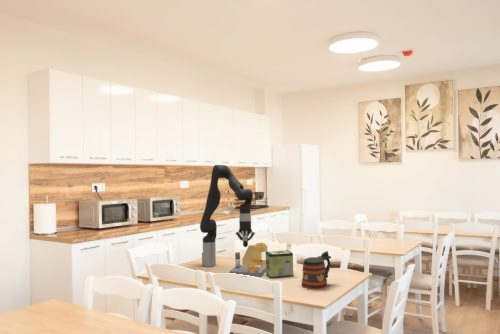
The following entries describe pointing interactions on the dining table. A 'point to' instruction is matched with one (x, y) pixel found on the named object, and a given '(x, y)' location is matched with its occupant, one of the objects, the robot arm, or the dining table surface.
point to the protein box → (279, 264)
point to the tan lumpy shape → (255, 255)
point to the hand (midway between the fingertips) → (245, 246)
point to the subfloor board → (244, 271)
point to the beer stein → (316, 272)
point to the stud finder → (253, 268)
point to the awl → (237, 260)
